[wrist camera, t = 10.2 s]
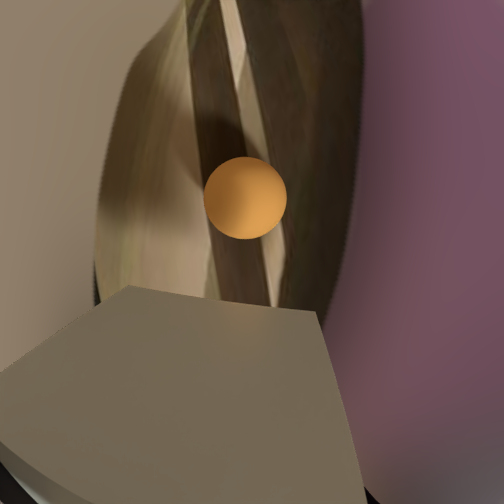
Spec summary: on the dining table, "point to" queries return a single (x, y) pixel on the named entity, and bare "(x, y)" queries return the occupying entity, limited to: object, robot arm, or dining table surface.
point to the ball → (245, 197)
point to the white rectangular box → (179, 408)
